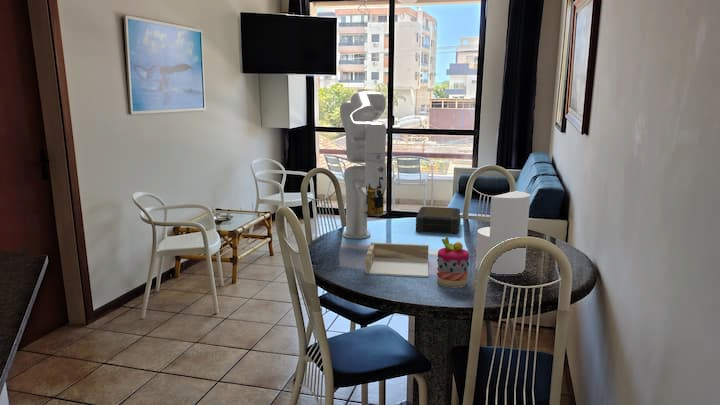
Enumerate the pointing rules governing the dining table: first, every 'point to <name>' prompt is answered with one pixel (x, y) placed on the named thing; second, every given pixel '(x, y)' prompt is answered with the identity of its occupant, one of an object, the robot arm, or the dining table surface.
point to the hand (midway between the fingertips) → (374, 205)
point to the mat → (399, 267)
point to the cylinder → (505, 231)
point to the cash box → (438, 220)
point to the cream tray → (394, 252)
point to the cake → (452, 265)
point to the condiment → (372, 204)
